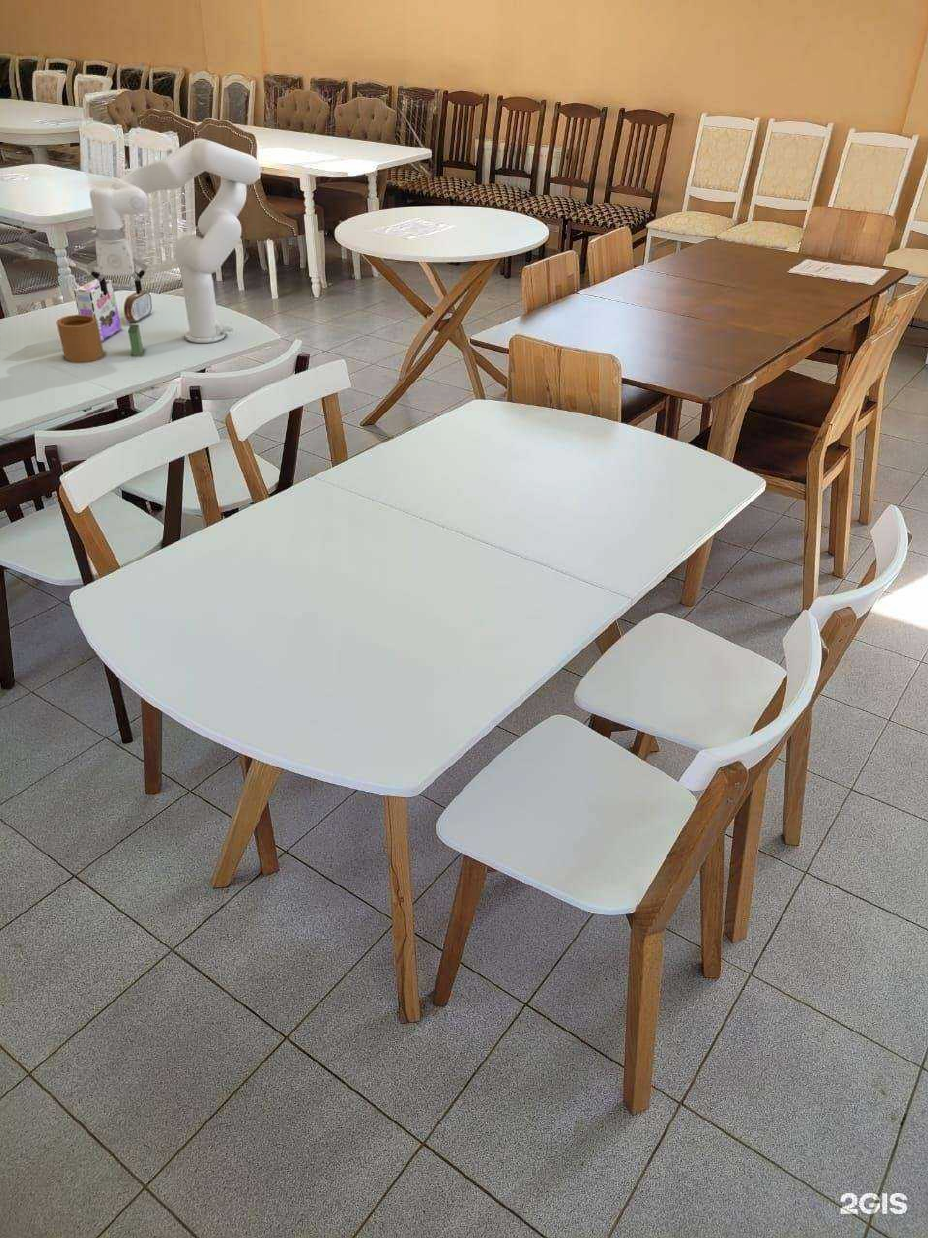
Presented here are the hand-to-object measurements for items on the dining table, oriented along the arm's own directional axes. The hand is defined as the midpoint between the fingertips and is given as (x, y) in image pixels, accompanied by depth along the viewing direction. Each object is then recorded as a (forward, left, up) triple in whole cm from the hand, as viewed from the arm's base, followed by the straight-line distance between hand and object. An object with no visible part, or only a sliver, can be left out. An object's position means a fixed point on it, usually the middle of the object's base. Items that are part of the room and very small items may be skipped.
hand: (122, 293), depth 277 cm
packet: (-1, +1, -18) cm, 18 cm away
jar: (+15, +2, -18) cm, 23 cm away
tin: (+2, -34, -18) cm, 39 cm away
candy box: (+12, -17, -18) cm, 28 cm away
